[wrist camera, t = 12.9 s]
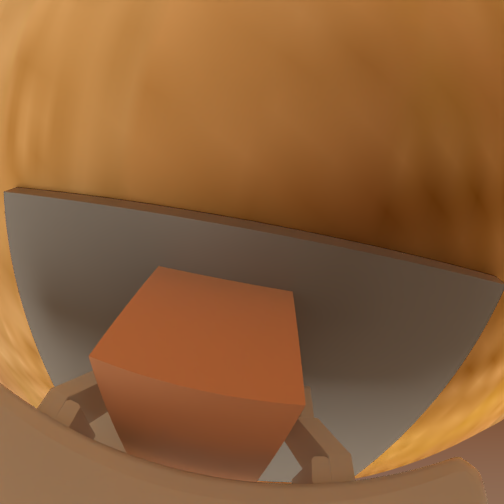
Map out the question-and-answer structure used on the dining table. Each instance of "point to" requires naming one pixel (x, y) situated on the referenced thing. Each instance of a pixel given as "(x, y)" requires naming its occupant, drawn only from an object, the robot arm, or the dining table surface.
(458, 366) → the baseplate
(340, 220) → the dining table surface
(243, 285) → the brick terracotta
